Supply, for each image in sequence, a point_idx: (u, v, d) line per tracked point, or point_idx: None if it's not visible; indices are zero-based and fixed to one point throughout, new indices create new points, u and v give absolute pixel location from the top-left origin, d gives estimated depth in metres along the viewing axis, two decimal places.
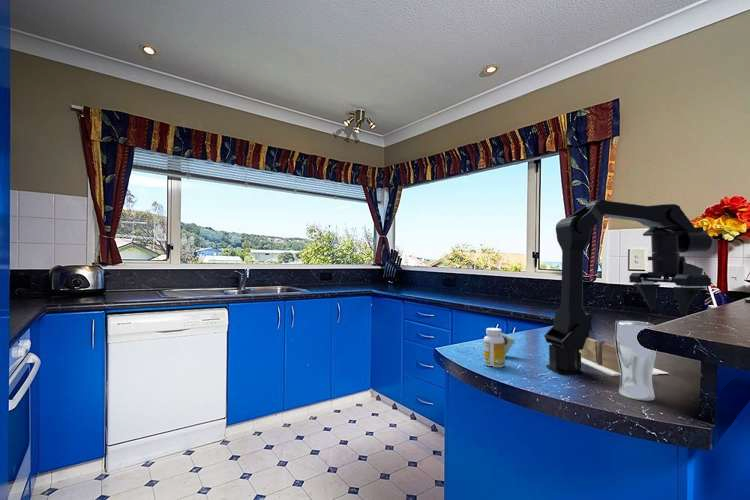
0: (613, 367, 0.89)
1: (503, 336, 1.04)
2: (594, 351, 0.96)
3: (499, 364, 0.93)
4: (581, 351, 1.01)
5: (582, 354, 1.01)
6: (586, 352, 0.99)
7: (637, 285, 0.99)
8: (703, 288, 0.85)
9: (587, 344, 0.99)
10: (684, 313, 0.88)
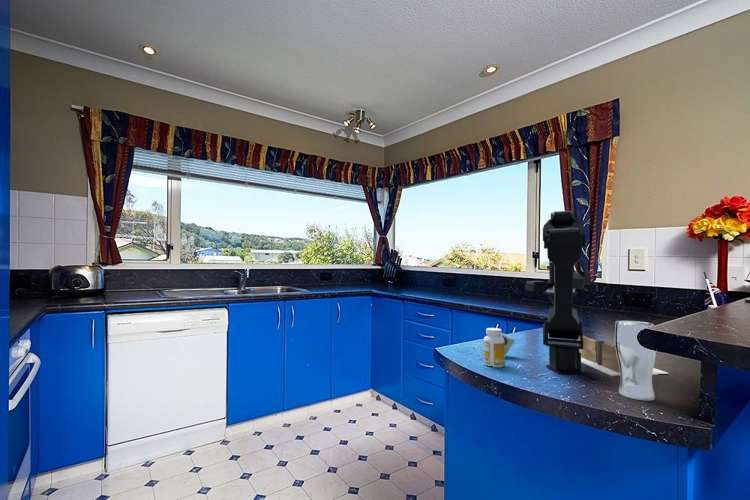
0: (613, 367, 0.89)
1: (503, 336, 1.04)
2: (594, 351, 0.96)
3: (499, 364, 0.93)
4: (581, 351, 1.01)
5: (582, 354, 1.01)
6: (586, 352, 0.99)
7: None
8: (552, 293, 1.00)
9: (587, 344, 0.99)
10: None
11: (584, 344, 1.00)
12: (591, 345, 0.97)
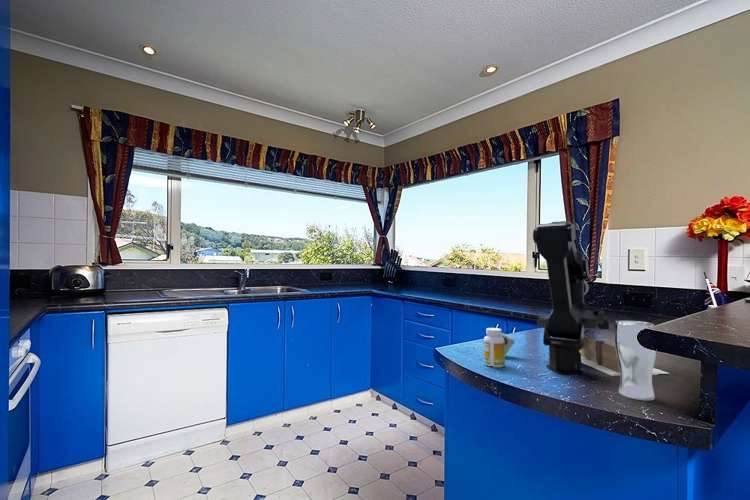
0: (613, 367, 0.89)
1: (503, 336, 1.04)
2: (594, 351, 0.96)
3: (499, 364, 0.93)
4: (582, 351, 1.01)
5: (583, 354, 1.01)
6: (587, 352, 0.99)
7: None
8: None
9: (588, 344, 0.99)
10: None
11: (585, 344, 1.00)
12: (591, 345, 0.97)
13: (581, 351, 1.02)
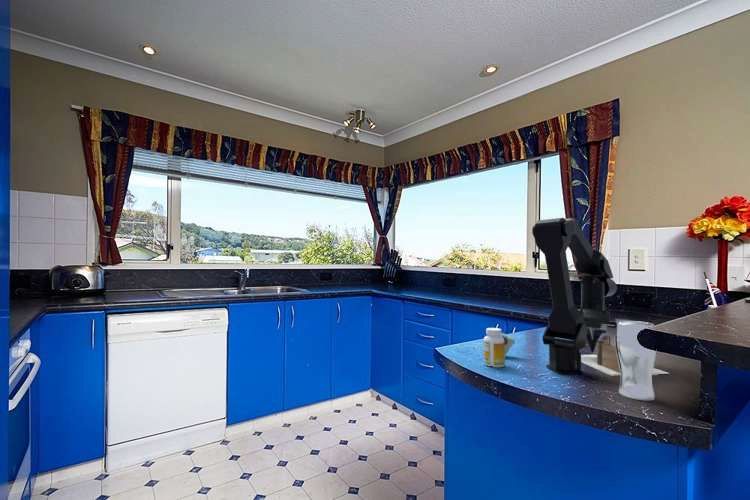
0: (613, 367, 0.89)
1: (503, 336, 1.04)
2: None
3: (499, 364, 0.93)
4: None
5: None
6: None
7: None
8: None
9: None
10: None
11: None
12: None
13: None
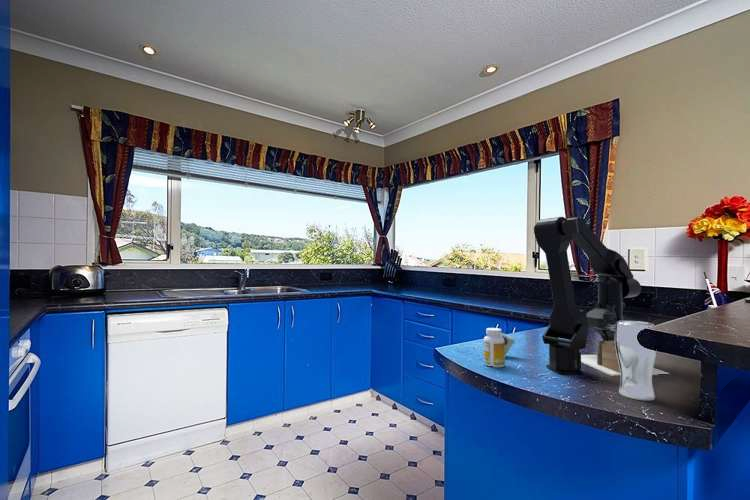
0: (613, 367, 0.89)
1: (503, 336, 1.04)
2: None
3: (499, 364, 0.93)
4: None
5: None
6: None
7: None
8: None
9: None
10: None
11: None
12: None
13: None
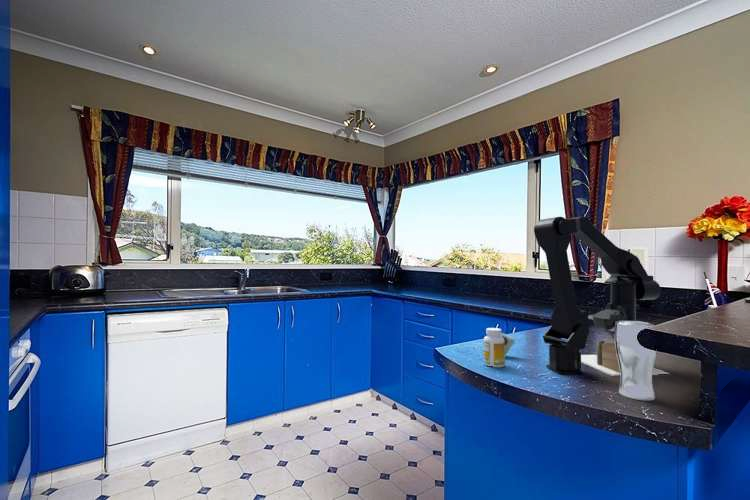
0: (613, 367, 0.89)
1: (503, 336, 1.04)
2: None
3: (499, 364, 0.93)
4: None
5: None
6: None
7: None
8: None
9: None
10: None
11: None
12: None
13: None
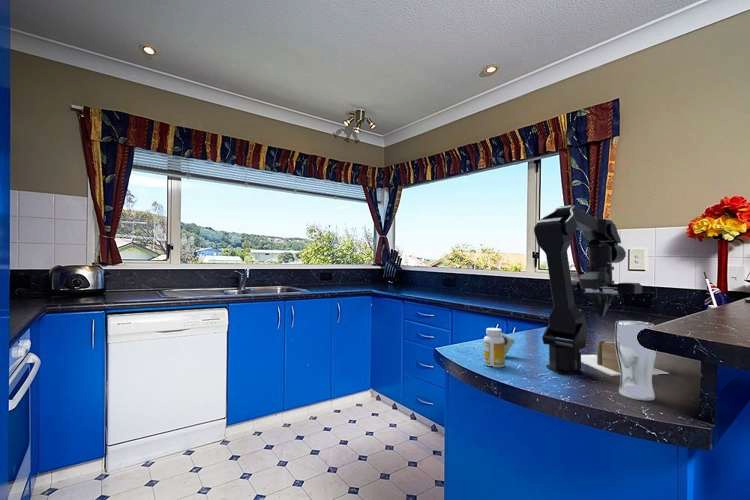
0: (613, 367, 0.89)
1: (503, 336, 1.04)
2: None
3: (499, 364, 0.93)
4: None
5: None
6: None
7: None
8: None
9: None
10: None
11: None
12: None
13: None
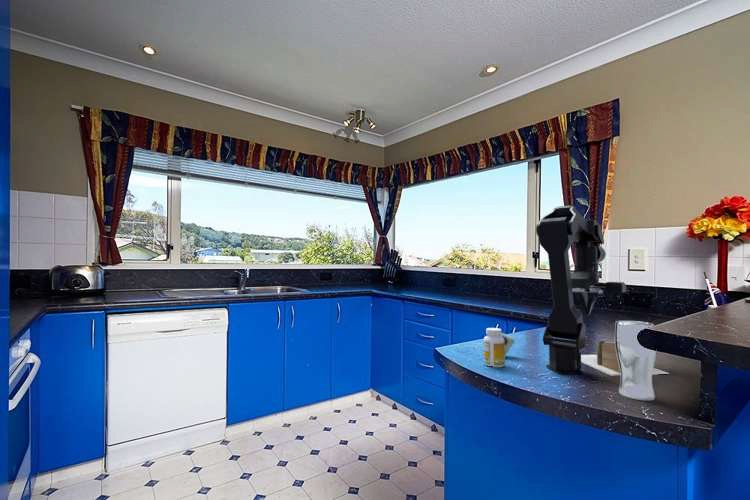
0: (613, 367, 0.89)
1: (503, 336, 1.04)
2: None
3: (499, 364, 0.93)
4: None
5: None
6: None
7: None
8: None
9: None
10: None
11: None
12: None
13: None
